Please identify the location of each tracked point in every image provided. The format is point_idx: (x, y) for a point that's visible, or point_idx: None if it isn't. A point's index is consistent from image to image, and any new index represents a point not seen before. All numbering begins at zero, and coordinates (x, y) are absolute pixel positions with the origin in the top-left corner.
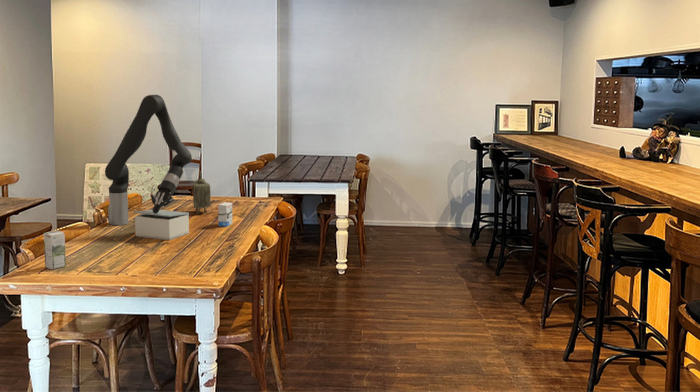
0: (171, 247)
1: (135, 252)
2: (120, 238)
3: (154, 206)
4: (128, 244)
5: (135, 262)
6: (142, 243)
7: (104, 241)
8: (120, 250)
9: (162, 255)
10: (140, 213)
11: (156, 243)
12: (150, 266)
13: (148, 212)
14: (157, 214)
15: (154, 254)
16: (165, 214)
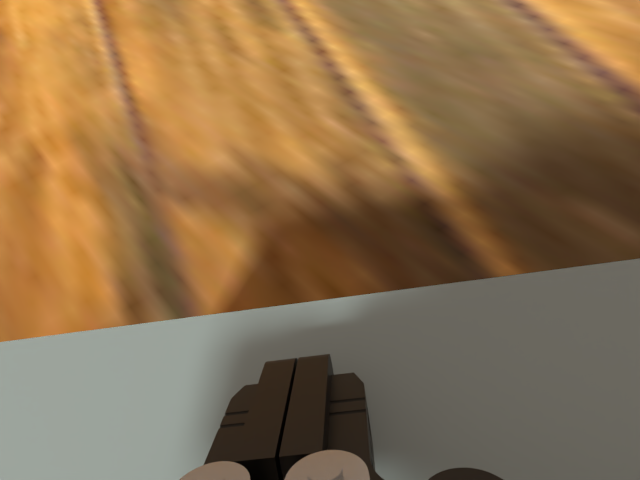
0: (35, 273)
1: (189, 98)
2: (589, 255)
3: (352, 437)
4: (362, 175)
5: (90, 22)
6: (295, 241)
7: (586, 139)
8: (294, 80)
9: (18, 134)
10: (544, 277)
11: (197, 296)
12: (3, 25)
13: (463, 383)
14: (177, 322)
15: (69, 125)
16: (53, 406)
